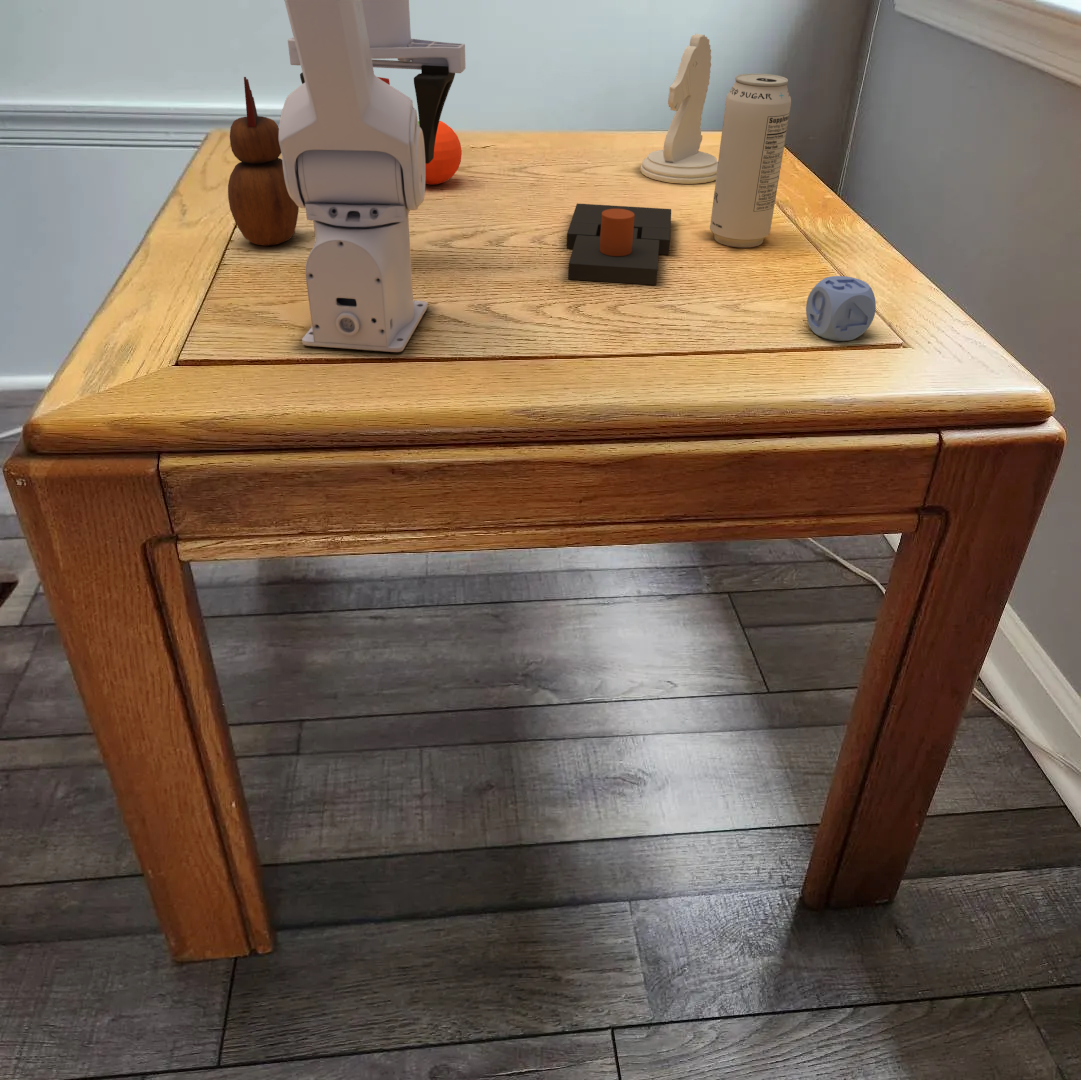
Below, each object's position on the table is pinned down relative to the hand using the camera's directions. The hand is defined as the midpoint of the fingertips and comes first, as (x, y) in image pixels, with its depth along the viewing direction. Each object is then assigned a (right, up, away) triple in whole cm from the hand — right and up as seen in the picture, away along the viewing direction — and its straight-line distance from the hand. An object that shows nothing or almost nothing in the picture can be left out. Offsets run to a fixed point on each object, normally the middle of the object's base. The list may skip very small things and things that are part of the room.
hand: (384, 158), depth 84 cm
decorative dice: (+38, -17, -5) cm, 42 cm away
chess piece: (+31, +11, +33) cm, 47 cm away
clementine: (+1, +7, +27) cm, 28 cm away
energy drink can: (+34, -3, +13) cm, 37 cm away
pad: (+21, -7, +7) cm, 23 cm away
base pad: (+22, -3, +13) cm, 26 cm away
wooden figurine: (-13, -4, +10) cm, 17 cm away
